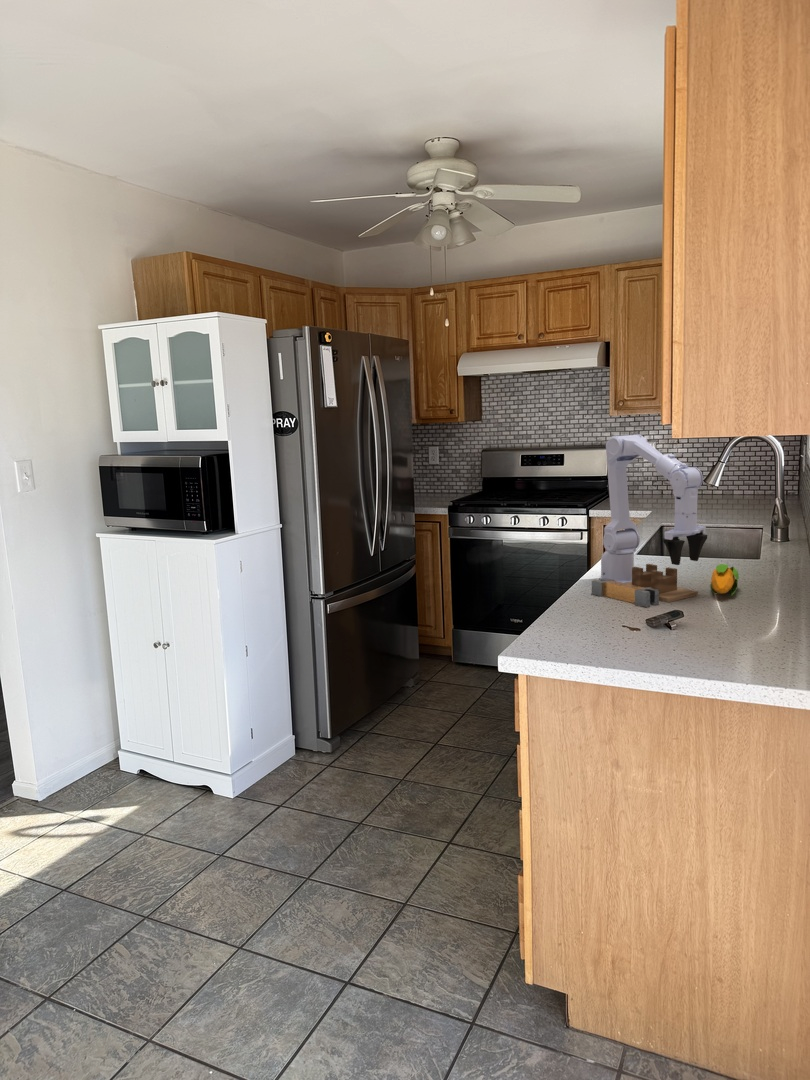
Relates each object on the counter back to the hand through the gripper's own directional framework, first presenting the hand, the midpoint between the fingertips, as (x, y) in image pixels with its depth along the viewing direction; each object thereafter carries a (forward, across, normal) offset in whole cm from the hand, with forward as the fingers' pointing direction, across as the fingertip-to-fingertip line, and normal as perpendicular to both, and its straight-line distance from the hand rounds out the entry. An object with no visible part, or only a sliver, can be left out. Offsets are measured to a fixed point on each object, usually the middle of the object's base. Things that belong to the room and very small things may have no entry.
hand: (684, 562), depth 207 cm
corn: (+10, +12, -4) cm, 16 cm away
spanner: (+10, -13, +10) cm, 19 cm away
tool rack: (+10, -1, +10) cm, 14 cm away
